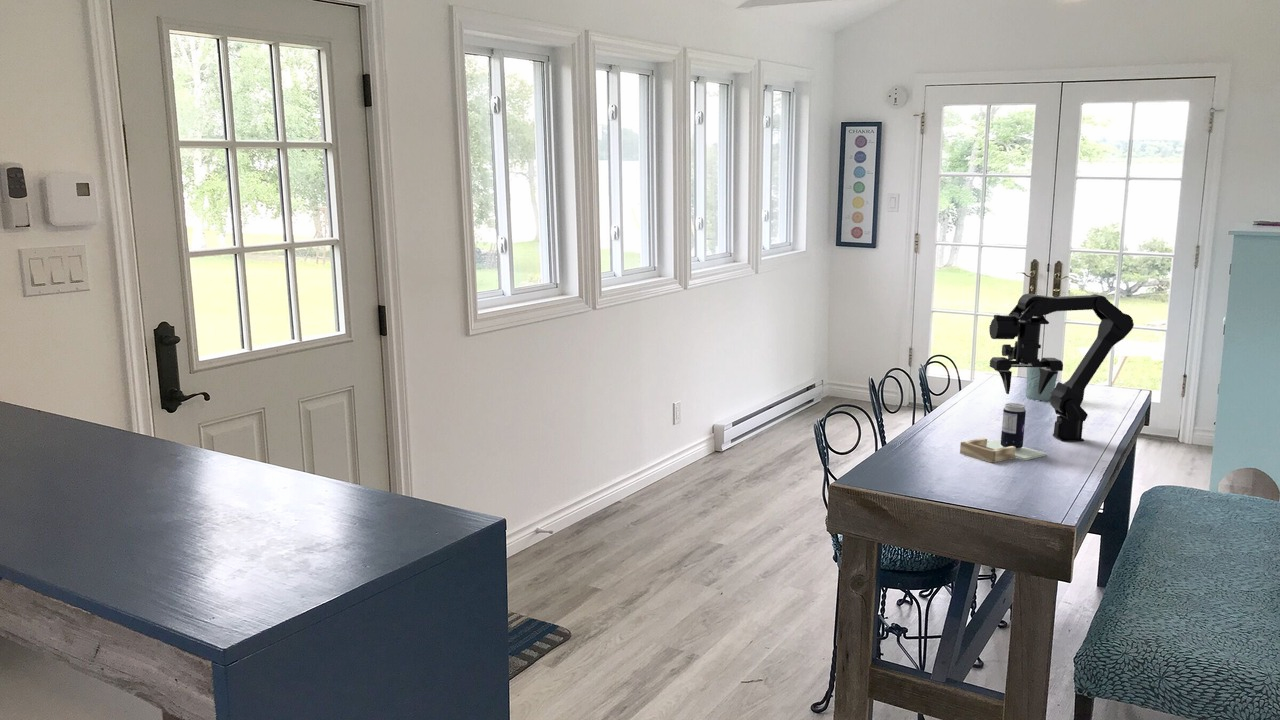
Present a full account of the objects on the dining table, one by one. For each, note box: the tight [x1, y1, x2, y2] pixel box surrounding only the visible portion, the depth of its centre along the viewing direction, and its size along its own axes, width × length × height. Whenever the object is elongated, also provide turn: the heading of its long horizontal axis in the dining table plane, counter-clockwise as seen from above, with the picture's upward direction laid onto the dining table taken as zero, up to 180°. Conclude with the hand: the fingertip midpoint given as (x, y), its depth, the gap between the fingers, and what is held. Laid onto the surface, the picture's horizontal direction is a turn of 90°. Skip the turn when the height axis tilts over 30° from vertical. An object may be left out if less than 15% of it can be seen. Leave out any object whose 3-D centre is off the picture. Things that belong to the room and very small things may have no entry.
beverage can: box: [1000, 402, 1027, 450], centre depth 266 cm, size 6×6×12 cm
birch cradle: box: [959, 437, 1016, 463], centre depth 261 cm, size 9×10×3 cm
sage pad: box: [987, 439, 1048, 461], centre depth 267 cm, size 9×16×1 cm, turn 32°
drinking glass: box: [1025, 367, 1059, 402], centre depth 329 cm, size 10×10×12 cm
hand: (1023, 393), depth 277 cm, fingers open, 9 cm apart
